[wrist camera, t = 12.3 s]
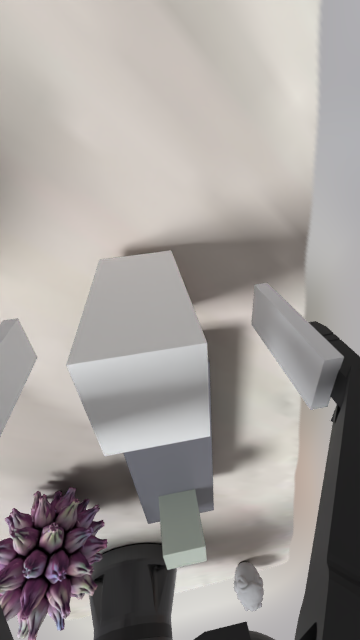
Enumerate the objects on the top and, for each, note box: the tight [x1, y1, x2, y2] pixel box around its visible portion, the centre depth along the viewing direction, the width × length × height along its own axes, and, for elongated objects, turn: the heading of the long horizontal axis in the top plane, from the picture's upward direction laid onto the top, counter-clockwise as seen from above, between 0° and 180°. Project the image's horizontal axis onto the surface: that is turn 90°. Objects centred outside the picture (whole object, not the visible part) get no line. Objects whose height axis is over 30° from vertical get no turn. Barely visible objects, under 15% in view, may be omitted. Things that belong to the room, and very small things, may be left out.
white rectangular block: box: [66, 250, 210, 456], centre depth 15 cm, size 5×5×11 cm
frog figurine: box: [234, 562, 263, 611], centre depth 54 cm, size 6×7×7 cm
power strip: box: [124, 359, 214, 524], centre depth 29 cm, size 34×8×5 cm, turn 5°
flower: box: [0, 487, 108, 640], centre depth 27 cm, size 12×12×12 cm
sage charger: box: [159, 489, 207, 570], centre depth 28 cm, size 4×4×5 cm
